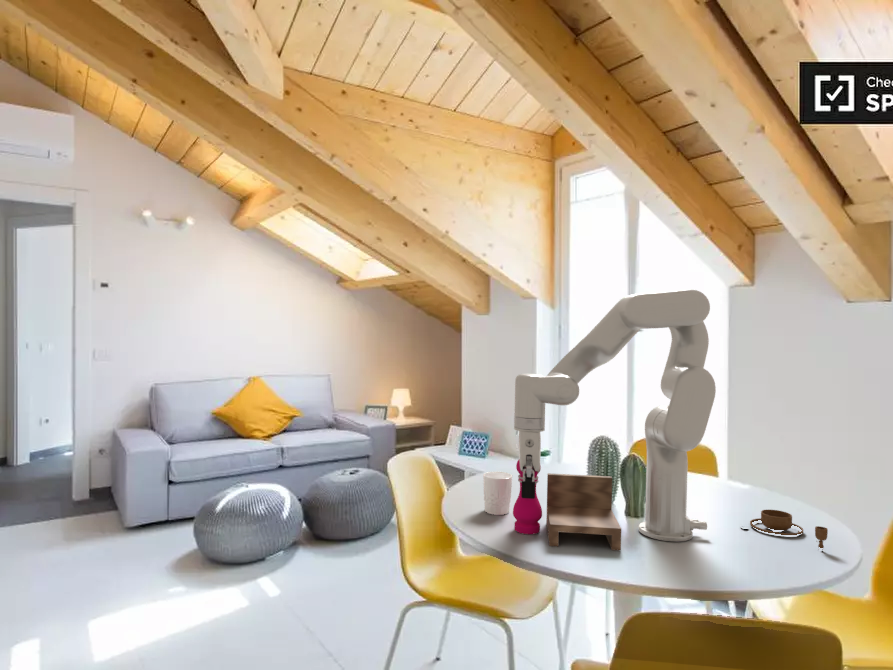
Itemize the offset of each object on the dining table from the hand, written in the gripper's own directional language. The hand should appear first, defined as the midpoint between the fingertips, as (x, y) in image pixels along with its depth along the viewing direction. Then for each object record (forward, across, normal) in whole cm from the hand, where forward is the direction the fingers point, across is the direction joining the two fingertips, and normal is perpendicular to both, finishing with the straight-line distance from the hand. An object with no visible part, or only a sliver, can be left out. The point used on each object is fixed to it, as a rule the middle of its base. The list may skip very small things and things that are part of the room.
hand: (527, 492), depth 147 cm
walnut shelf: (+9, -2, -13) cm, 16 cm away
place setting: (+10, +8, -63) cm, 64 cm away
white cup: (+10, +14, +8) cm, 19 cm away
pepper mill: (+10, 0, 0) cm, 10 cm away
